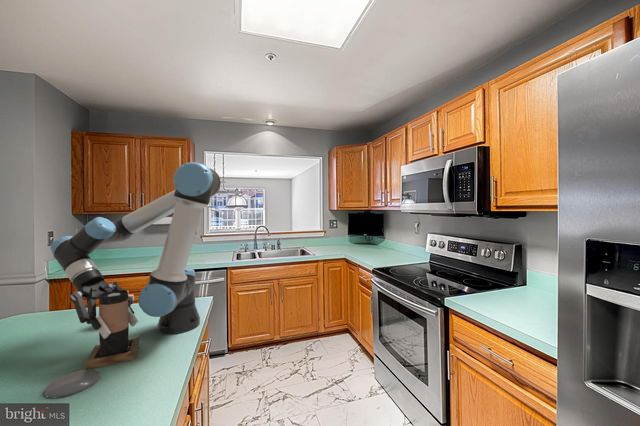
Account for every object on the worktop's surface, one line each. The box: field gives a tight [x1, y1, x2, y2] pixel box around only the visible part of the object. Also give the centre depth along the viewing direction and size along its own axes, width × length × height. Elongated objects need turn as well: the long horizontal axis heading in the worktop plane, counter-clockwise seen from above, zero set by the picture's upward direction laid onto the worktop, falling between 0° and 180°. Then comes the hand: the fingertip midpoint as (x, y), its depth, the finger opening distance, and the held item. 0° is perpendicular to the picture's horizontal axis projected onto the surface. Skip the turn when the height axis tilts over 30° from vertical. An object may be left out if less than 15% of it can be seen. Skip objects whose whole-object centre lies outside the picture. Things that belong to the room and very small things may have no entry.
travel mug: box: [98, 289, 130, 358], centre depth 89 cm, size 8×8×20 cm
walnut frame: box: [85, 336, 140, 370], centre depth 89 cm, size 12×12×2 cm
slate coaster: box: [44, 368, 101, 398], centre depth 74 cm, size 11×11×1 cm
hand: (122, 329), depth 88 cm, fingers open, 8 cm apart
